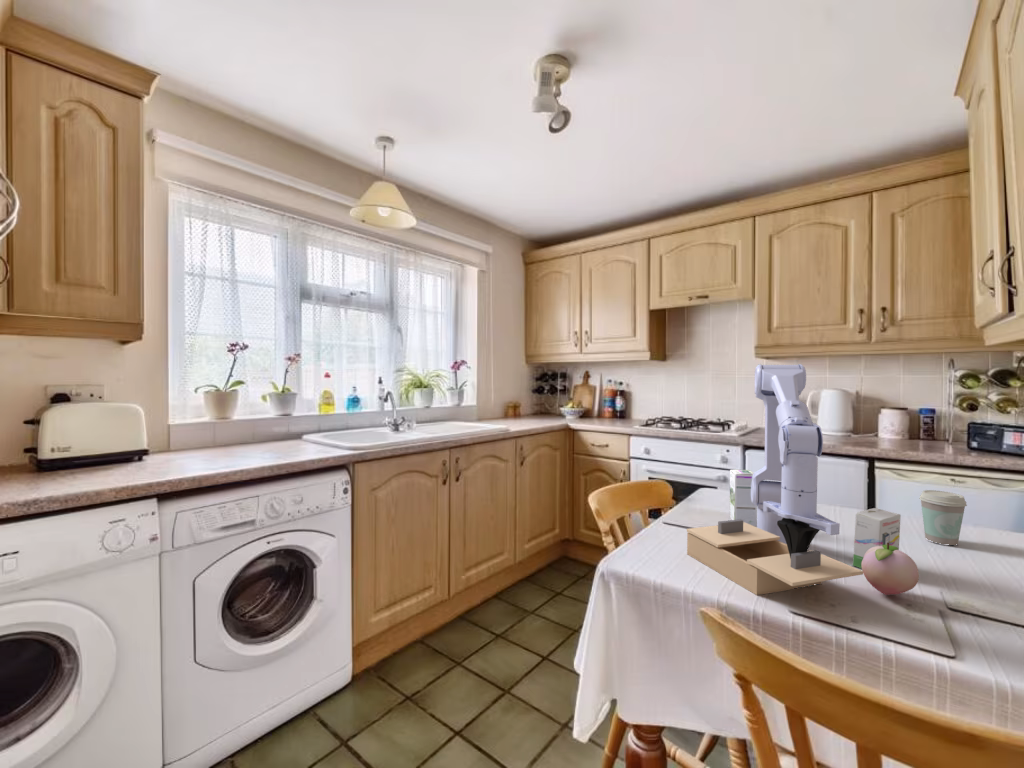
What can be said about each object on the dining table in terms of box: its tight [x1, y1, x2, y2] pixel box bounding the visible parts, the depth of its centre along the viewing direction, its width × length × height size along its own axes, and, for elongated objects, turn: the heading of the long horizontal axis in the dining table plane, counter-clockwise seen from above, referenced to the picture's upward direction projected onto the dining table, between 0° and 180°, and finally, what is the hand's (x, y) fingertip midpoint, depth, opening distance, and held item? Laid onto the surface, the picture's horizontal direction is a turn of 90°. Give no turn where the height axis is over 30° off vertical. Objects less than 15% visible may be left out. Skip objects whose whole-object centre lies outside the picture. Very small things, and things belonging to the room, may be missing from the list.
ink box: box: [852, 507, 902, 569], centre depth 98 cm, size 9×5×12 cm, turn 117°
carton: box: [686, 532, 823, 596], centre depth 97 cm, size 16×20×5 cm
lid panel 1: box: [686, 519, 780, 548], centre depth 102 cm, size 16×10×3 cm, turn 106°
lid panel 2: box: [747, 549, 864, 586], centre depth 85 cm, size 16×10×3 cm, turn 106°
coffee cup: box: [919, 489, 968, 545], centre depth 112 cm, size 8×9×12 cm
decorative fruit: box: [861, 542, 920, 596], centre depth 85 cm, size 9×8×10 cm
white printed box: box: [729, 468, 757, 527], centre depth 126 cm, size 6×6×14 cm
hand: (797, 559), depth 86 cm, fingers closed
